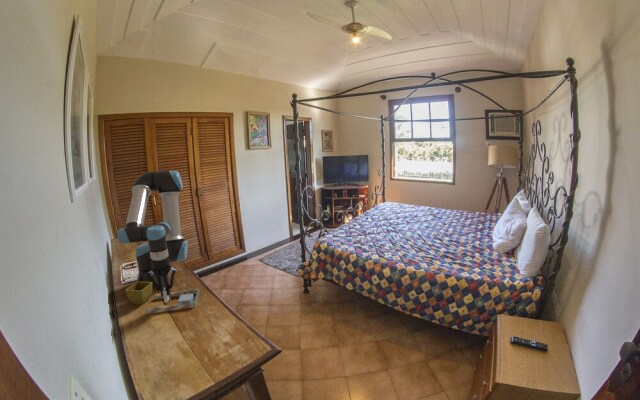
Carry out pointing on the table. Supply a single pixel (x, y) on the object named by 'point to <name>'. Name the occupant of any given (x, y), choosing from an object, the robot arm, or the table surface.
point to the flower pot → (139, 292)
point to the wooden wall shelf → (177, 306)
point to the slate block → (186, 298)
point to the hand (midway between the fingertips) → (166, 300)
